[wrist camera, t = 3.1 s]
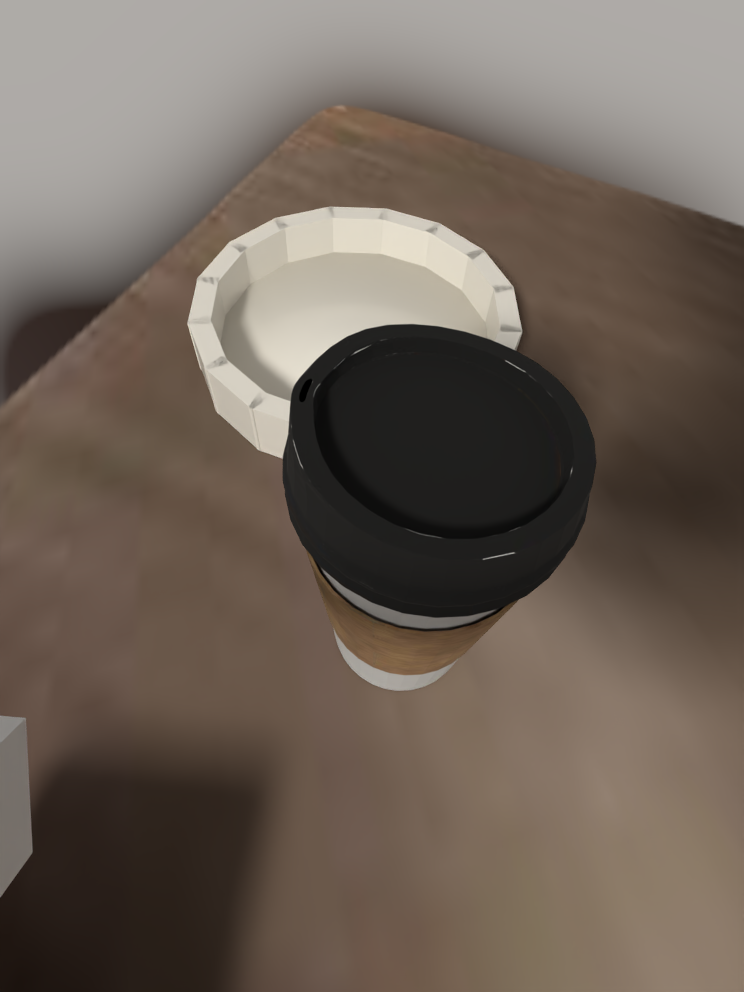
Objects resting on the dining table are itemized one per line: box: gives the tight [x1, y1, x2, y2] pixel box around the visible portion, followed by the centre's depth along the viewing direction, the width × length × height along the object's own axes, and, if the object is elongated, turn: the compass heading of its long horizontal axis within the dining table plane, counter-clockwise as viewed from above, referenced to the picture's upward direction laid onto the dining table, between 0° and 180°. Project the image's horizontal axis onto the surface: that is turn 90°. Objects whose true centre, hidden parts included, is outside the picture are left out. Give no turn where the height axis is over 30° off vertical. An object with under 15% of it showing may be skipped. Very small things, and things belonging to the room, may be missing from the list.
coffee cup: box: [283, 324, 596, 691], centre depth 21 cm, size 8×8×15 cm
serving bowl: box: [188, 207, 523, 459], centre depth 35 cm, size 18×18×4 cm
